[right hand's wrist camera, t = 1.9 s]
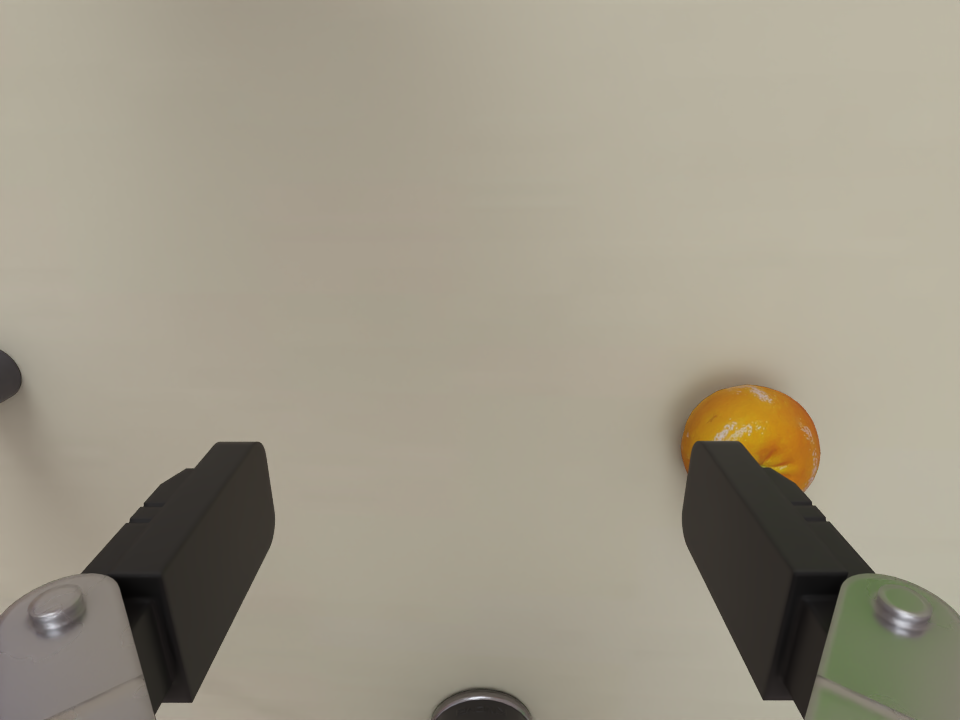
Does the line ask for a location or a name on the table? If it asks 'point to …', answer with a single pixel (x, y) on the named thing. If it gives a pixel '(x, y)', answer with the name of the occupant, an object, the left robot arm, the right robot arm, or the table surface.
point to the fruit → (758, 430)
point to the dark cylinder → (8, 377)
